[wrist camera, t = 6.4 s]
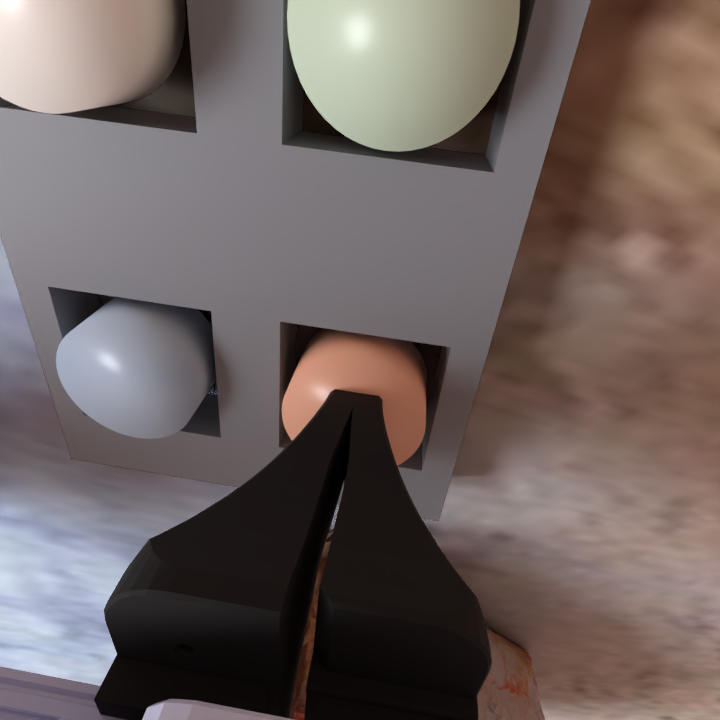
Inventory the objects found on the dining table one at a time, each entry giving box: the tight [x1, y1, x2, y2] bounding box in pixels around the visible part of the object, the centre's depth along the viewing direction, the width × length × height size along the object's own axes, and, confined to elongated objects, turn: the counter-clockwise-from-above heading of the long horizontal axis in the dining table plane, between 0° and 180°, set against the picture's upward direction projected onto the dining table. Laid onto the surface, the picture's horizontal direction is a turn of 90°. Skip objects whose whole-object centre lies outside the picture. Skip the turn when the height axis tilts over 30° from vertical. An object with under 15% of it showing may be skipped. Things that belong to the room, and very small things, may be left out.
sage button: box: [287, 0, 520, 152], centre depth 9 cm, size 4×4×2 cm
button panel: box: [0, 0, 591, 521], centre depth 13 cm, size 13×18×2 cm
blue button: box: [56, 297, 216, 439], centre depth 15 cm, size 4×4×2 cm
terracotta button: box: [282, 328, 427, 466], centre depth 14 cm, size 4×4×2 cm
